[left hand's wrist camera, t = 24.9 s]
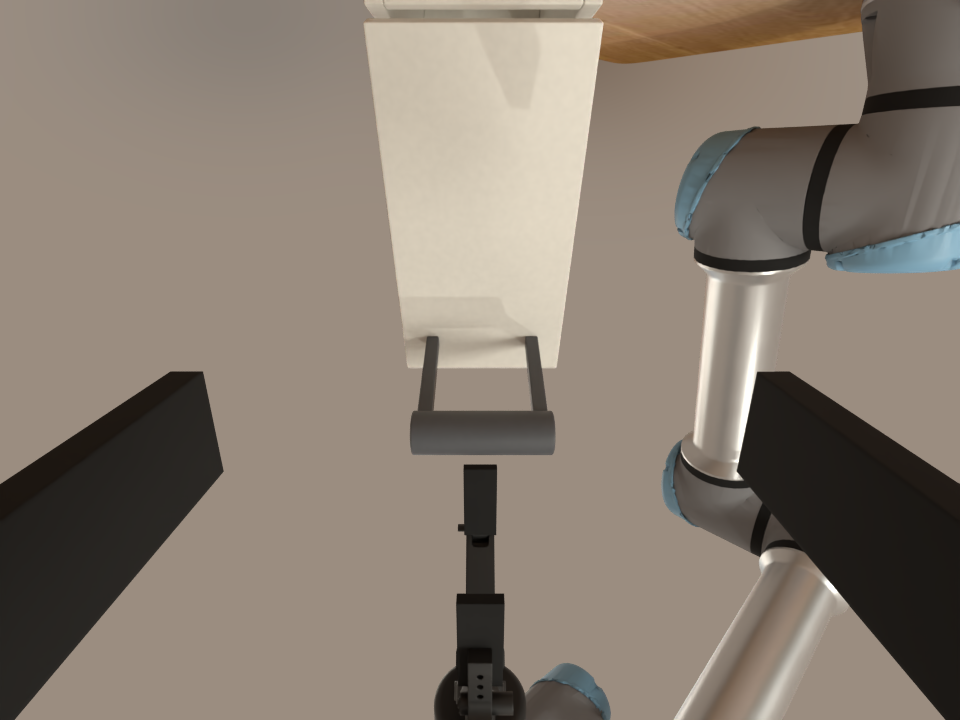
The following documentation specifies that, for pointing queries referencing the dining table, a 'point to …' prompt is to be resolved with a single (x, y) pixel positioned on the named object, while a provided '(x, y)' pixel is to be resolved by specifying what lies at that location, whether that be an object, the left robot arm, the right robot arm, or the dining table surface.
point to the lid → (482, 203)
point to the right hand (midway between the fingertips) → (480, 520)
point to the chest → (483, 8)
